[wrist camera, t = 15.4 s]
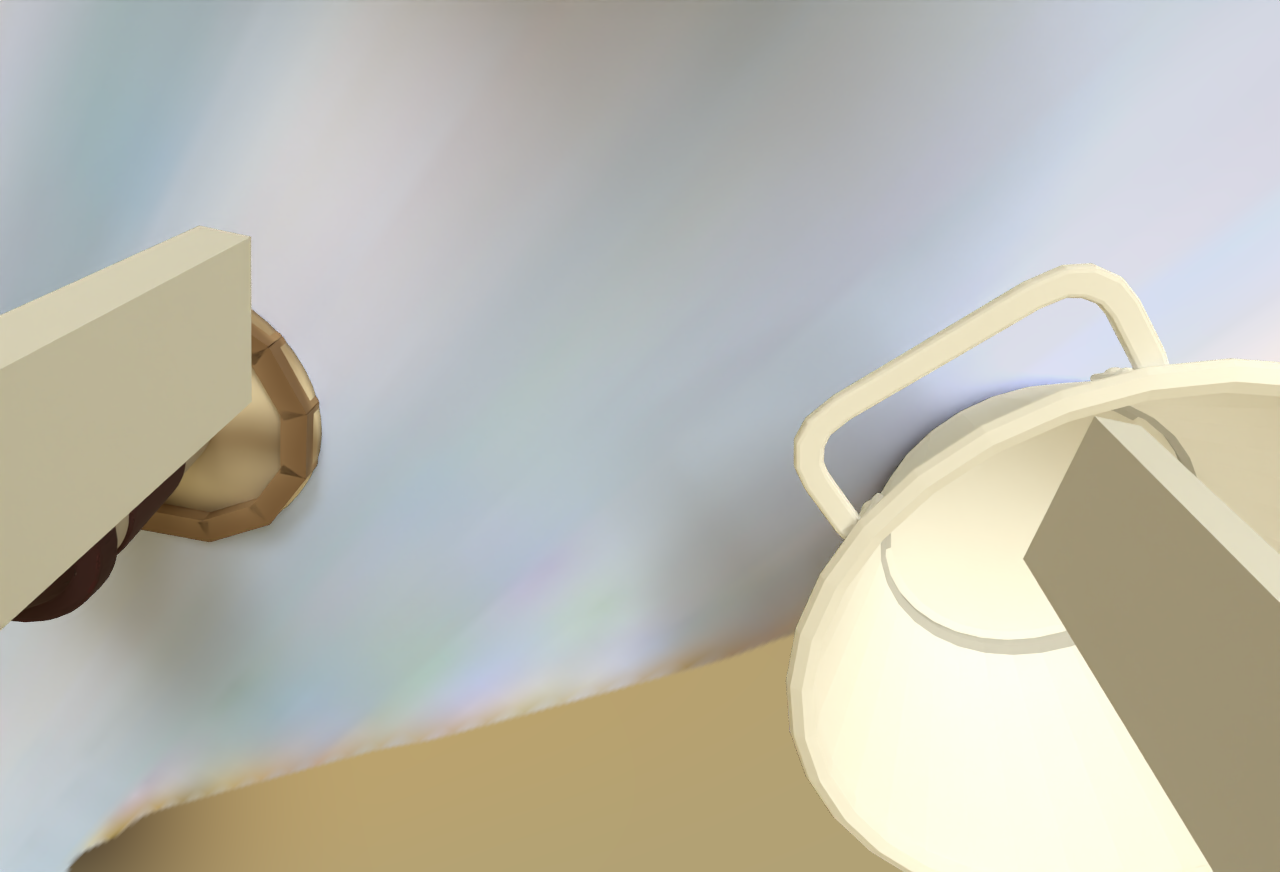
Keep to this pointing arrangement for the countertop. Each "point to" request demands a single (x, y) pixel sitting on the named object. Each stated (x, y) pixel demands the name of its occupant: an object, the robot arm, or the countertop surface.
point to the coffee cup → (100, 557)
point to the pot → (1000, 607)
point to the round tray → (251, 451)
